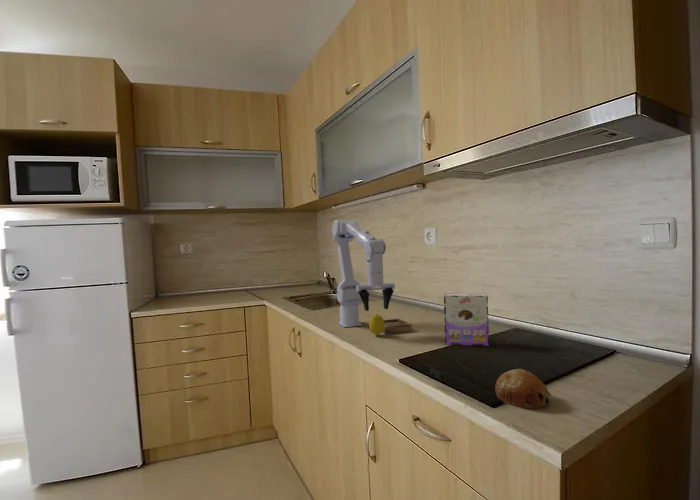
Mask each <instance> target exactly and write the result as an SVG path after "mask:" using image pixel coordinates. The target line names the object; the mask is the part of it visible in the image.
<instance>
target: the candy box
mask: <svg viewBox="0 0 700 500" xmlns="http://www.w3.org/2000/svg"><path fill="white" fill-rule="evenodd" d="M488 299H489V297H488V295H487V294H486V293H482V292H481V293H478V292H477V293H476V292H475V293H473V292H472V293H471V292H470V293H467V292H466V293H465V292H463V293H461V292H460V293H459V292H457V293H453V292H451V293H450V292H449V293H447V292H445V293H443V313H444V315H443V317H444V318H443V319H444V320H443V321H444V345H447V346H449V345H450V346H451V345H453V346H455V345H456V346H475V347H476V346H478V347H490V338H489V337H490V334H489V333H490V332H489V331H490V330H489V329H490V328H489V301H488Z"/></svg>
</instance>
